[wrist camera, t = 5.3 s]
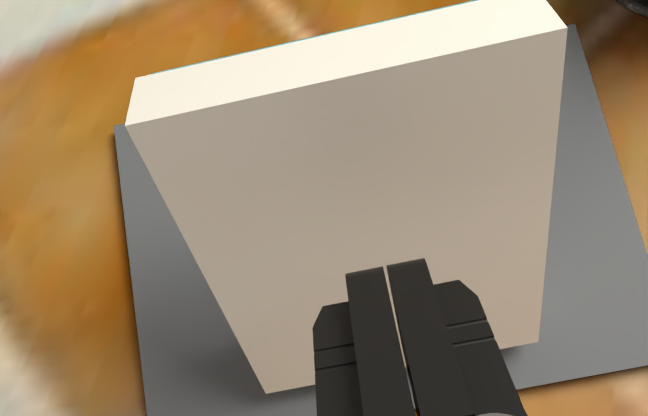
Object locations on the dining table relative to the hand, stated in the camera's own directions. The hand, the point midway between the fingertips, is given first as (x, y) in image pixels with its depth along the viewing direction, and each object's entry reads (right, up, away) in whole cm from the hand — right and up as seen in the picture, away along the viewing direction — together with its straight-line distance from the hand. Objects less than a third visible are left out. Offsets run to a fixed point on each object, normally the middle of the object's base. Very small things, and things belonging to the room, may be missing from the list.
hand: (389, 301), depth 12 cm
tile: (+1, -2, +7) cm, 7 cm away
